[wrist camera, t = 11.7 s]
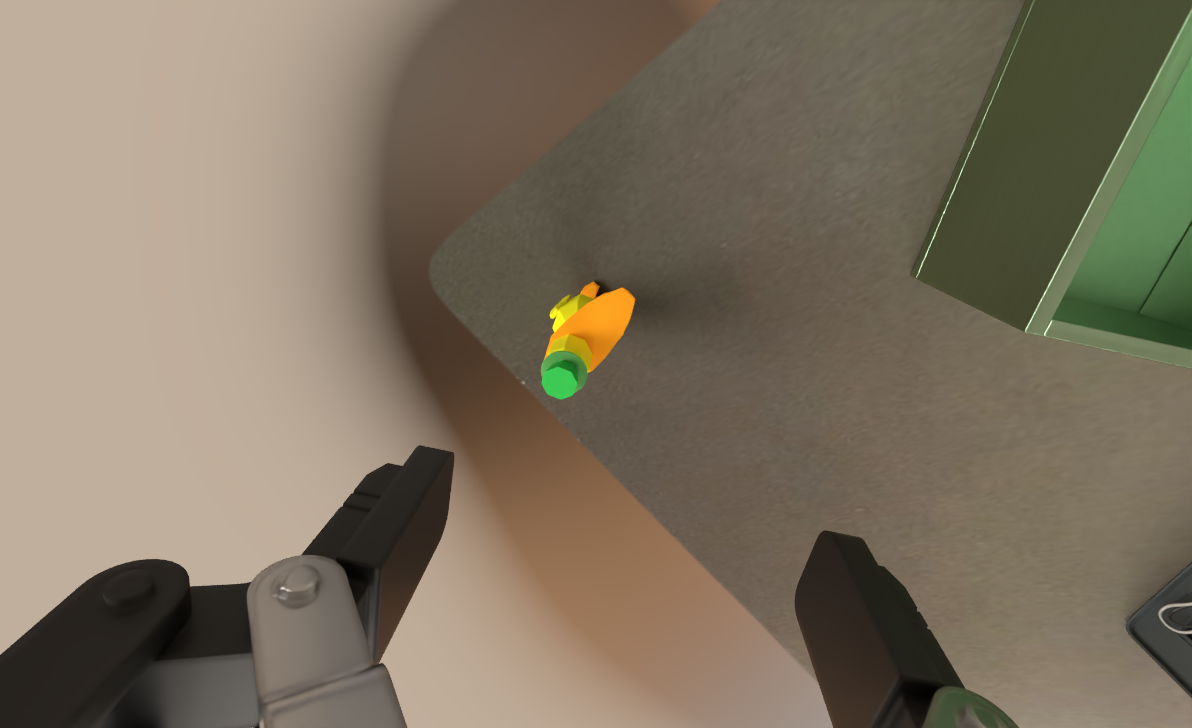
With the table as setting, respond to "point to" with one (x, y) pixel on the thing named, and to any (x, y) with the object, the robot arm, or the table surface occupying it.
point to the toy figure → (583, 337)
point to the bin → (1079, 182)
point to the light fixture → (1168, 629)
